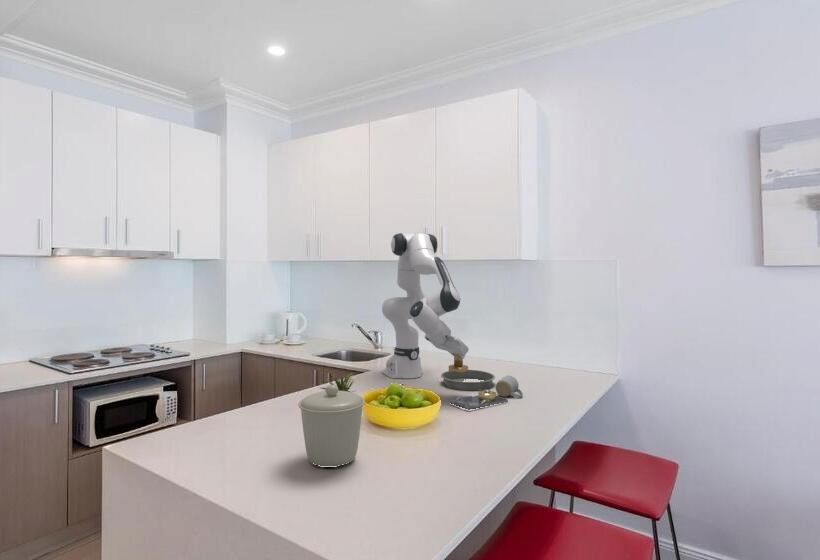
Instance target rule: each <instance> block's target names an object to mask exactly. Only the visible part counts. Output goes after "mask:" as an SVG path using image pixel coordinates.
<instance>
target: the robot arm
mask: <svg viewBox="0 0 820 560" xmlns="http://www.w3.org/2000/svg"><path fill="white" fill-rule="evenodd" d="M391 238H392V239H391V242H390V248H391V252H392V253H393V254H394V255H395V256H399V257H398V263H397V277H396V278H397V280H396V281H397V282H396V283H397V285H398V287H399V288H400V289H402V290H404V291H405V292H406V296H401V297H391V298H387V299H385V300H384V301H383V303H382V304H381V305H382V306H381V313H382V314H383V316H384V317H385V318H386V319H387V320H388V321H389V322H390V323H391V324H392V326H393V328H394V332H395V347H394V348H393V351H394V352H393V354H392V356H391V357H389V358H388V359H387V360H386V363H385V364H386V366H385V368H384V369H382V370H381V373H382V374H383V375H385V376H387V377H389V378H392V379H404V380H405V379H417V378H420V377H422V375H423V373H424V372H423V370H422V363H421V360H422V359H421V357H420V356H419V355H420V346H419V331H418V330H417V329H416V328H415V327H413V326H411V325H410V323H409V320H412V322H414V324H415V325H416V326H417V327H418V329H420V331H421V332H423V333H424V334H425V336H424V339H425V340H426V341H428V342H430V343H431V344H432V346H433V347H435V348H437V349H438V350H441V351H446V352H447V353H449V354H450V355H452V356H453V357H454V353H455V354H458V355H459V357H460V358H461V359H463V360H464V359H465V358H466V355H467V353H468V352H469V351H470V350H469V347H468V345H466V344H465V342H463V341H462V340H461V339H460V338H459V337H456V336H452V330H451V329H450V327H448V326H447V324H446V323H445V321H444V320H441V319H440V317H441V316H444V315H445V314H447V313H450V312H453V311H455V310H458V308H459V306H460V303H461V297H460V294H459V292H458V290H457V289H456V287H455V285H454V282H453V281H452V278H451V276H450V273H449V271H448V268H447V267H446V263H444V260H443V259H441V258H440V257H439V256H436V255H435V254H436V253H437V252H438V251H437V250H438V247H439V246H438V245H439V244H438V243H439V242H438V238H437V237H436V236H435V235H434V234H431V233H427V234H426V233H419V232H413V233H411V232H409V233H400V232H399V233H395V234H394V235H393V236H392V237H391ZM421 275H425V276H426V275H427V276H428V275H436V276H437V279H438V282H439V284H440V287H439V289H438V290H436V291H434V292H432V293H431V294H428V295H425V294H424V293H423V291H422V287H421Z"/></svg>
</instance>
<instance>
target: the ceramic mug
mask: <svg viewBox="0 0 820 560" xmlns="http://www.w3.org/2000/svg"><path fill="white" fill-rule="evenodd" d="M495 391H496V394H498V395H499V397H500V396H501V397H502V396H503V397H502V398H507V397H510V396H512V397H514V398H517V399H522V398H523V395H524V393H523V392H522V390H521V389H520V387H519V382H518V380H517V378H515V377H514V376H512V375H505V376H503V377H502V378H500V380H498V381H497V383H496V384H495ZM517 393H518V394H517Z"/></svg>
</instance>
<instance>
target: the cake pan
mask: <svg viewBox="0 0 820 560" xmlns="http://www.w3.org/2000/svg"><path fill="white" fill-rule="evenodd" d="M440 377H441V378H442V379H443V382H444V386H446V387H447V386H448V387H447V388H449V387H451V388H450V389H453V388H454V390H458V389H462V390H461V391H480V390H479V389H483V390H486V389H485V388H487V389H489V387H490V386H491V387H492V384H493V382H494V380H495V379H496V376H495V375H494V374H493V373H491V372H487V371H484V370H478V369H468V372H467V373H462V374H457V373H451V372H449V370H447V371H444V372H442V373H441V375H440ZM464 379H465V380H466V379H478V380H484V381H480V382H463V381H464ZM491 387H490V388H491Z"/></svg>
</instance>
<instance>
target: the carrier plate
mask: <svg viewBox="0 0 820 560" xmlns="http://www.w3.org/2000/svg"><path fill="white" fill-rule="evenodd" d="M477 394H478V395H473V396H472V395H463V396H462V397H460V396H459V397H456V398H455V400H452V401H450V400H449V403H451V404H454V405H456V406H459V407H462V408H465V409H468V410H470V409H476V408H480V407H485V406H490V405H494V404H499V403H503V404H505V403H504V402H509V399H508V398H506V397H502V396H501V397H500V396H497V391H496V392H495V391H493V390H490V389H489V388H487V389H483V390H478V393H477ZM449 403H448V404H449ZM499 405H500V404H499Z"/></svg>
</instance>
